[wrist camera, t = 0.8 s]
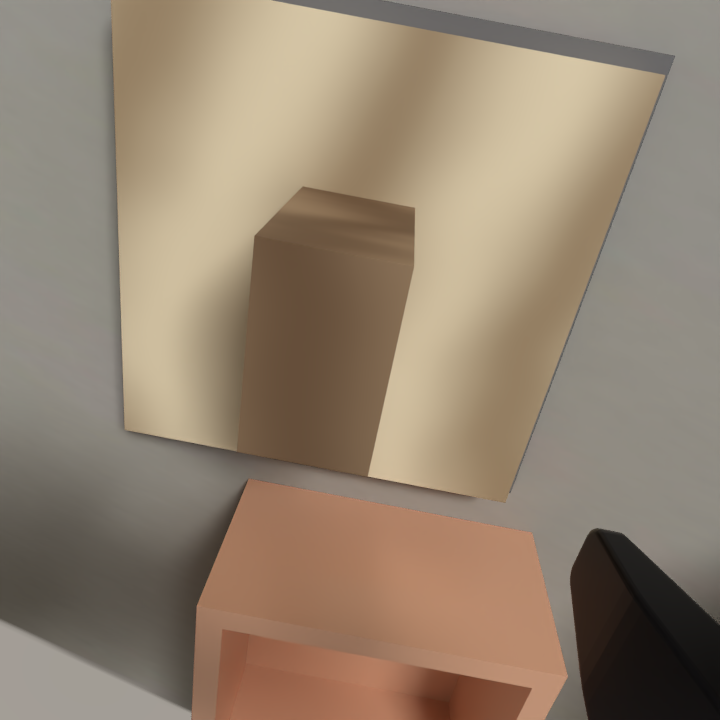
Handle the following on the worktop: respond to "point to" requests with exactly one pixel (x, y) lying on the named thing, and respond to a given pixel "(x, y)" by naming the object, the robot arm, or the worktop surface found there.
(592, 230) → the lid
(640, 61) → the mat
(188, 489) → the worktop surface
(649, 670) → the robot arm
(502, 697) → the pink open tray
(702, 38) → the worktop surface
